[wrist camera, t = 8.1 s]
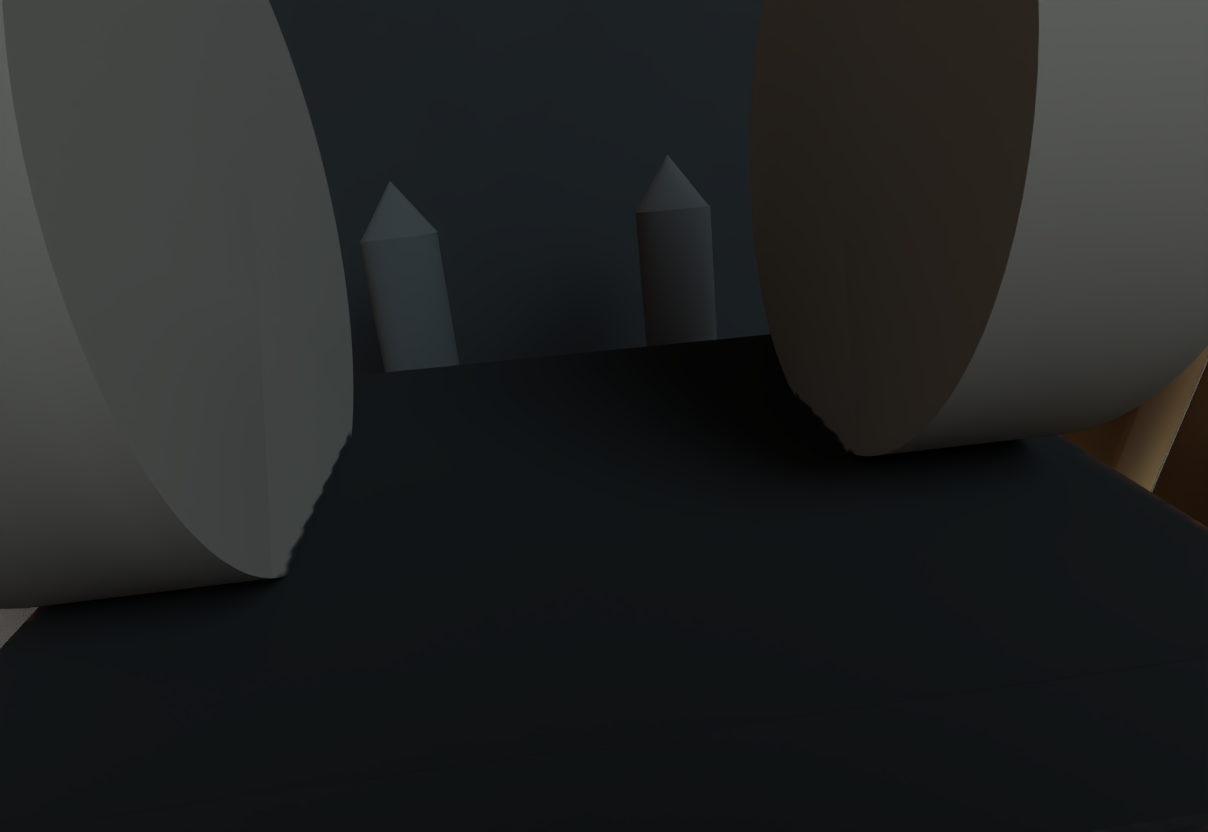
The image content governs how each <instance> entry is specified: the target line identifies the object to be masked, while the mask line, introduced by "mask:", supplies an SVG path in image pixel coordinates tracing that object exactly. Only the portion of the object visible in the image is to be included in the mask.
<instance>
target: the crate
mask: <svg viewBox="0 0 1208 832" xmlns="http://www.w3.org/2000/svg"><path fill="white" fill-rule="evenodd" d="M1207 357H1208V346H1207V347H1206V348H1205V349H1204V350H1203V351H1202V353H1201V354H1200V355H1199V356H1198V357H1197V358H1196V359H1195V360H1194V361H1193V362H1192V363H1191V364H1190V365H1189V366H1188V367H1187V368H1186V369H1185V370H1184V371H1183V372H1182V373H1181V374H1180V375H1179V376H1177V377H1176V378H1175V379H1174V380H1173V381H1172V382H1170V383H1169V384H1168V385H1167V386H1166V387H1164V388H1163V389H1162V390H1161V391H1160V392H1158V393H1157V394H1155V395H1154V396H1152V397H1151V398H1150V399H1148V400H1147V401H1145V402H1144V403H1143V404H1141V405H1140V406H1138V407H1136V408H1134V409H1133V410H1131V411H1129V412H1127V413H1126V414H1124V415H1122V416H1120V417H1118V418H1116V419H1113V420H1111V421H1109V422H1107V423H1104V424H1102V425H1099V426H1096V427H1093V428H1090V429H1087V430H1083V431H1078V432H1073V433H1069V434H1060V435H1061V436H1062V437H1064V438H1066V439H1067V440H1069V441H1070V442H1072V443H1074V444H1075V445H1077V446H1078V447H1080V448H1082V449H1083V450H1085V451H1086V452H1088V453H1090V454H1091V455H1093V456H1094V457H1096V458H1098V459H1099V460H1101V461H1102V462H1104V463H1106V464H1107V465H1109V466H1110V467H1112V468H1114V469H1115V470H1117V471H1118V472H1120V473H1121V474H1123V475H1125V476H1126V477H1128V478H1129V479H1131V480H1133V481H1134V482H1136V483H1137V484H1139V485H1141V486H1142V487H1144V488H1145V489H1147V490H1149V491H1151V489H1152V487H1153V484H1154V482H1155V479H1156V477H1157V475H1158V472H1159V470H1160V468H1161V465H1162V463H1163V461H1164V458H1165V456H1166V454H1167V451H1168V449H1169V446H1170V444H1171V442H1172V439H1173V437H1174V435H1175V432H1176V430H1177V428H1178V425H1179V423H1180V421H1181V418H1182V416H1183V414H1184V411H1185V409H1186V406H1187V404H1188V402H1189V399H1190V397H1191V395H1192V392H1193V390H1194V388H1195V385H1196V383H1197V381H1198V378H1199V376H1200V373H1201V371H1202V369H1203V366H1204V364H1205V362H1206V359H1207ZM1152 493H1153V494H1155V495H1157V496H1158V497H1160V498H1161V499H1163V500H1165V501H1166V502H1168V503H1169V504H1171V505H1173V506H1174V507H1176V508H1177V509H1179V510H1181V511H1182V512H1184V513H1185V514H1187V515H1189V516H1190V517H1192V518H1193V519H1195V520H1197V521H1198V522H1200V523H1201V524H1203V525H1204V526H1206V527H1208V363H1207V365H1206V368H1205V370H1204V373H1203V375H1202V377H1201V380H1200V382H1199V384H1198V387H1197V389H1196V391H1195V394H1194V396H1193V398H1192V401H1191V403H1190V405H1189V408H1188V410H1187V412H1186V415H1185V417H1184V419H1183V422H1182V424H1181V427H1180V429H1179V431H1178V434H1177V436H1176V438H1175V441H1174V443H1173V445H1172V448H1171V450H1170V452H1169V455H1168V457H1167V459H1166V462H1165V464H1164V466H1163V469H1162V471H1161V473H1160V476H1159V478H1158V480H1157V483H1156V485H1155V488H1154V490H1153V492H1152Z"/></svg>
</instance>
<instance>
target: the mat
mask: <svg viewBox="0 0 1208 832" xmlns="http://www.w3.org/2000/svg"><path fill="white" fill-rule="evenodd" d="M269 2H270V4H271V7H272V9H273V12H274V14H275V17H276V19H277V22H278V24H279V27H280V29H281V32H282V35H283V37H284V40H285V43H286V45H287V48H288V51H289V54H290V57H291V59H292V62H293V65H294V68H295V71H296V74H297V77H298V80H299V83H300V86H301V89H302V92H303V95H304V99H305V102H306V105H307V108H308V112H309V115H310V119H311V122H312V125H313V129H314V132H315V136H316V140H317V144H318V147H319V151H320V155H321V159H322V163H323V167H324V171H325V175H326V179H327V184H328V188H329V192H330V197H331V202H332V207H333V211H334V216H335V221H336V227H337V232H338V237H339V243H340V249H341V255H342V261H343V268H344V275H345V282H346V290H347V298H348V306H349V317H350V327H351V340H352V357H353V375H363V374H373V373H383V372H385V369H384V364H383V359H382V354H381V349H380V344H379V339H378V334H377V329H376V325H375V320H374V315H373V310H372V305H371V300H370V295H369V290H368V285H367V280H366V275H365V270H364V266H363V261H362V256H361V251H360V246H359V242H360V241H361V239H362V237H363V235H364V233H365V231H366V229H367V227H368V225H369V223H370V221H371V219H372V217H373V215H374V212H375V210H376V208H377V206H378V204H379V202H380V200H381V198H382V196H383V194H384V192H385V190H386V188H387V186H388V183H389V181H390V182H391V183H392V184H393V185H394V186H395V187H396V188H397V189H398V190H399V191H400V192H401V193H402V194H403V195H404V197H405V198H406V199H407V200H408V201H409V202H410V203H411V204H412V205H413V206H414V207H415V208H416V209H417V210H418V211H419V212H420V214H421V215H422V216H423V217H424V218H425V219H426V220H427V221H428V222H429V223H430V224H431V225H432V226H433V227H434V228H435V229H436V231H437V232H438V233H437V235H438V241H439V247H440V253H441V259H442V265H443V271H444V277H445V283H446V289H447V295H448V301H449V307H450V312H451V318H452V324H453V330H454V336H455V342H456V348H457V354H458V360H459V365H464V364H474V363H484V362H494V361H505V360H515V359H525V358H535V357H545V356H555V355H565V354H575V353H585V352H595V351H605V350H616V349H626V348H636V347H646V346H647V344H646V332H645V320H644V308H643V296H642V284H641V272H640V260H639V248H638V235H637V223H636V213H634V212H635V211H636V209H637V207H638V205H639V204H640V202H641V200H642V198H643V197H644V195H645V193H646V191H647V190H648V188H649V186H650V184H651V183H652V181H653V179H654V177H655V176H656V174H657V172H658V170H659V169H660V167H661V165H662V163H663V162H664V160H665V158H666V156H667V155H668V156H669V157H670V159H671V160H672V161H673V162H674V163H675V165H676V166H677V167H678V168H679V170H680V171H681V172H682V173H683V175H684V176H685V177H686V178H687V179H688V181H689V182H690V183H691V184H692V186H693V187H694V188H695V189H696V191H697V192H698V193H699V194H700V195H701V197H702V198H703V199H704V200H705V202H706V203H707V204H708V205H710V213H711V233H712V253H713V272H714V292H715V312H716V331H717V339H726V338H737V337H747V336H757V335H767V334H771V333H770V329H769V326H768V322H767V317H766V313H765V309H764V304H763V299H762V294H761V288H760V282H759V276H758V270H757V263H756V255H755V246H754V237H753V226H752V212H751V193H750V122H751V102H752V87H753V75H754V65H755V55H756V47H757V39H758V31H759V24H760V17H761V11H762V5H763V0H269Z"/></svg>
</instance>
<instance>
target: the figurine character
mask: <svg viewBox="0 0 1208 832" xmlns="http://www.w3.org/2000/svg"><path fill="white" fill-rule="evenodd" d="M750 193H751V212H752V226H753V237H754V246H755V255H756V263H757V270H758V276H759V282H760V288H761V294H762V299H763V304H764V309H765V313H766V317H767V322H768V326H769V329H770V333H771V334H767V335H757V336H747V337H737V338H726V339H717V331H716V312H715V292H714V272H713V253H712V233H711V213H710V205H708V204H707V203H706V202H705V200H704V199H703V198H702V197H701V195H700V194H699V193H698V192H697V191H696V189H695V188H694V187H693V186H692V184H691V183H690V182H689V181H688V179H687V178H686V177H685V176H684V175H683V173H682V172H681V171H680V170H679V168H678V167H677V166H676V165H675V163H674V162H673V161H672V160H671V159H670V157H669V156H668V155H667V156H666V158H665V160H664V162H663V163H662V165H661V167H660V169H659V170H658V172H657V174H656V176H655V177H654V179H653V181H652V183H651V184H650V186H649V188H648V190H647V191H646V193H645V195H644V197H643V198H642V200H641V202H640V204H639V205H638V207H637V209H636V211H635V212H634V213H636V223H637V235H638V248H639V260H640V272H641V284H642V296H643V308H644V320H645V332H646V344H647V346H646V347H636V348H626V349H616V350H605V351H595V352H585V353H575V354H565V355H555V356H545V357H535V358H525V359H515V360H505V361H494V362H484V363H474V364H464V365H459V360H458V354H457V348H456V342H455V336H454V330H453V324H452V318H451V312H450V307H449V301H448V295H447V289H446V283H445V277H444V271H443V265H442V259H441V253H440V247H439V241H438V235H437V233H438V232H437V231H436V229H435V228H434V227H433V226H432V225H431V224H430V223H429V222H428V221H427V220H426V219H425V218H424V217H423V216H422V215H421V214H420V212H419V211H418V210H417V209H416V208H415V207H414V206H413V205H412V204H411V203H410V202H409V201H408V200H407V199H406V198H405V197H404V195H403V194H402V193H401V192H400V191H399V190H398V189H397V188H396V187H395V186H394V185H393V184H392V183H391V182H390V181H389V183H388V186H387V188H386V190H385V192H384V194H383V196H382V198H381V200H380V202H379V204H378V206H377V208H376V210H375V212H374V215H373V217H372V219H371V221H370V223H369V225H368V227H367V229H366V231H365V233H364V235H363V237H362V239H361V241H360V242H359V246H360V251H361V256H362V261H363V266H364V270H365V275H366V280H367V285H368V290H369V295H370V300H371V305H372V310H373V315H374V320H375V325H376V329H377V334H378V339H379V344H380V349H381V354H382V359H383V364H384V369H385V372H383V373H373V374H363V375H353V357H352V340H351V327H350V317H349V306H348V298H347V290H346V282H345V275H344V268H343V261H342V255H341V249H340V243H339V237H338V232H337V227H336V221H335V216H334V211H333V207H332V202H331V197H330V192H329V188H328V184H327V179H326V175H325V171H324V167H323V163H322V159H321V155H320V151H319V147H318V144H317V140H316V136H315V132H314V129H313V125H312V122H311V119H310V115H309V112H308V108H307V105H306V102H305V99H304V95H303V92H302V89H301V86H300V83H299V80H298V77H297V74H296V71H295V68H294V65H293V62H292V59H291V57H290V54H289V51H288V48H287V45H286V43H285V40H284V37H283V35H282V32H281V29H280V27H279V24H278V22H277V19H276V17H275V14H274V12H273V9H272V7H271V4H270V2H269V0H0V609H14V608H31V607H38V608H37V610H36V611H35V612H34V613H33V614H32V615H31V616H30V617H29V618H28V619H27V620H26V621H25V623H24V624H23V625H22V626H21V627H20V628H19V629H18V630H17V631H16V632H15V633H14V635H13V636H12V637H11V638H10V639H9V640H8V641H7V642H6V643H5V644H4V645H3V646H2V648H1V649H0V832H1208V527H1206V526H1204V525H1203V524H1201V523H1200V522H1198V521H1197V520H1195V519H1193V518H1192V517H1190V516H1189V515H1187V514H1185V513H1184V512H1182V511H1181V510H1179V509H1177V508H1176V507H1174V506H1173V505H1171V504H1169V503H1168V502H1166V501H1165V500H1163V499H1161V498H1160V497H1158V496H1157V495H1155V494H1153V493H1152V492H1150V491H1149V490H1147V489H1145V488H1144V487H1142V486H1141V485H1139V484H1137V483H1136V482H1134V481H1133V480H1131V479H1129V478H1128V477H1126V476H1125V475H1123V474H1121V473H1120V472H1118V471H1117V470H1115V469H1114V468H1112V467H1110V466H1109V465H1107V464H1106V463H1104V462H1102V461H1101V460H1099V459H1098V458H1096V457H1094V456H1093V455H1091V454H1090V453H1088V452H1086V451H1085V450H1083V449H1082V448H1080V447H1078V446H1077V445H1075V444H1074V443H1072V442H1070V441H1069V440H1067V439H1066V438H1064V437H1062V436H1061V435H1060V434H1069V433H1073V432H1078V431H1083V430H1087V429H1090V428H1093V427H1096V426H1099V425H1102V424H1104V423H1107V422H1109V421H1111V420H1113V419H1116V418H1118V417H1120V416H1122V415H1124V414H1126V413H1127V412H1129V411H1131V410H1133V409H1134V408H1136V407H1138V406H1140V405H1141V404H1143V403H1144V402H1145V401H1147V400H1148V399H1150V398H1151V397H1152V396H1154V395H1155V394H1157V393H1158V392H1160V391H1161V390H1162V389H1163V388H1164V387H1166V386H1167V385H1168V384H1169V383H1170V382H1172V381H1173V380H1174V379H1175V378H1176V377H1177V376H1179V375H1180V374H1181V373H1182V372H1183V371H1184V370H1185V369H1186V368H1187V367H1188V366H1189V365H1190V364H1191V363H1192V362H1193V361H1194V360H1195V359H1196V358H1197V357H1198V356H1199V355H1200V354H1201V353H1202V351H1203V350H1204V349H1205V348H1206V347H1207V346H1208V0H763V5H762V11H761V17H760V24H759V31H758V39H757V47H756V55H755V65H754V75H753V87H752V102H751V122H750Z"/></svg>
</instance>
